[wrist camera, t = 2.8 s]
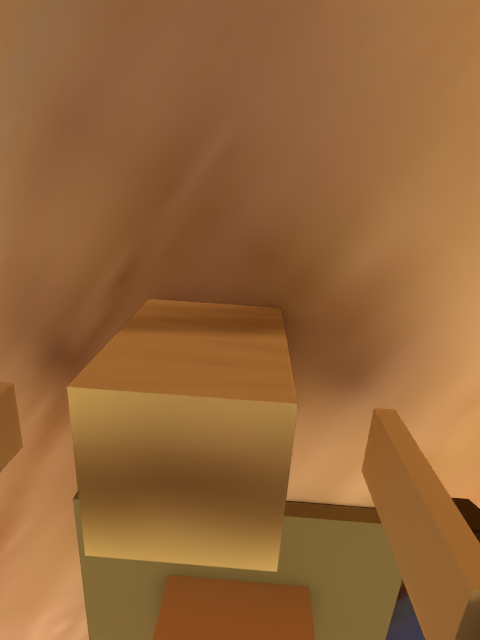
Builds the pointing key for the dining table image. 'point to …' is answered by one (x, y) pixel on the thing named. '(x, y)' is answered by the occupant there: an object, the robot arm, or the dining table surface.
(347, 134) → the dining table surface
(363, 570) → the olive square panel
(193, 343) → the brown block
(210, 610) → the base block
